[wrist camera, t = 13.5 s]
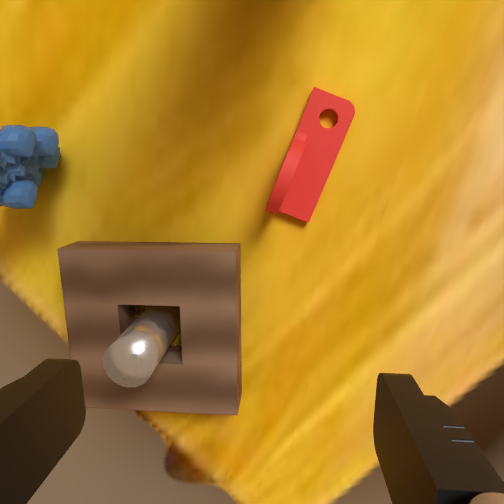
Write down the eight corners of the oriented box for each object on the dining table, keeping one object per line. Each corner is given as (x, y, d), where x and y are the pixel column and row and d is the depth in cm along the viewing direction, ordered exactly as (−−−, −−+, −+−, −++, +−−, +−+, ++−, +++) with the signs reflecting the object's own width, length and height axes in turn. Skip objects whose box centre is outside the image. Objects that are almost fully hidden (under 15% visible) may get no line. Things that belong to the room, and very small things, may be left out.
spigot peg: (142, 300, 42) (100, 340, 33) (181, 301, 42) (150, 342, 32) (145, 337, 43) (105, 386, 34) (183, 338, 43) (153, 388, 33)
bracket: (307, 221, 39) (313, 234, 31) (267, 205, 39) (263, 214, 31) (356, 106, 36) (376, 90, 28) (313, 89, 36) (320, 68, 28)
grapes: (34, 236, 42) (-63, 263, 30) (-11, 189, 41) (-128, 199, 29) (104, 166, 39) (28, 166, 28) (58, 115, 38) (-40, 93, 27)
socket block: (78, 241, 41) (57, 248, 37) (240, 243, 40) (235, 251, 36) (94, 386, 45) (76, 406, 41) (241, 393, 44) (237, 415, 40)
